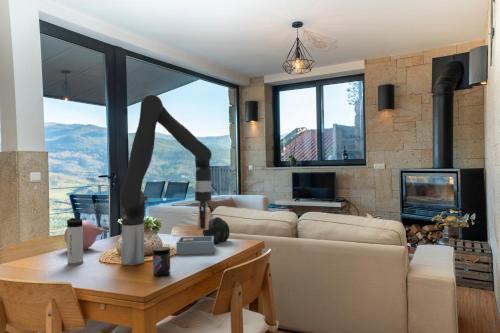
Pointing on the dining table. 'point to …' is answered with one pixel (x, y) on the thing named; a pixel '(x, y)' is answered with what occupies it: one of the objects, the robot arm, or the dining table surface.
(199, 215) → the terracotta cylinder
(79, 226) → the travel mug
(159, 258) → the supplement container
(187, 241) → the walnut cube
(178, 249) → the tote
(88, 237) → the balloon
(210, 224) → the squash
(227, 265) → the dining table surface
